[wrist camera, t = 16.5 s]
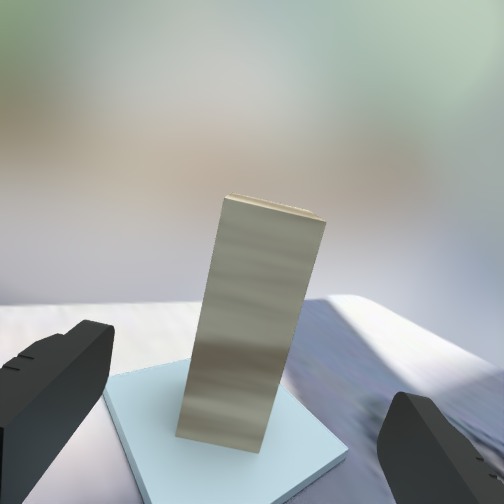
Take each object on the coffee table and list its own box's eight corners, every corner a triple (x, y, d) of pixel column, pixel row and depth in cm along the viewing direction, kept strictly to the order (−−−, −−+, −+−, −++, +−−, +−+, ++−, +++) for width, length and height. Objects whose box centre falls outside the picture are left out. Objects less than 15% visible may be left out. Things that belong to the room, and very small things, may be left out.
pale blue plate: (345, 458, 20) (348, 448, 20) (174, 581, 12) (177, 567, 12) (239, 354, 29) (241, 346, 29) (100, 388, 21) (102, 378, 21)
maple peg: (259, 453, 18) (326, 221, 15) (174, 436, 18) (224, 197, 14) (258, 394, 23) (309, 210, 20) (192, 380, 23) (232, 192, 19)
